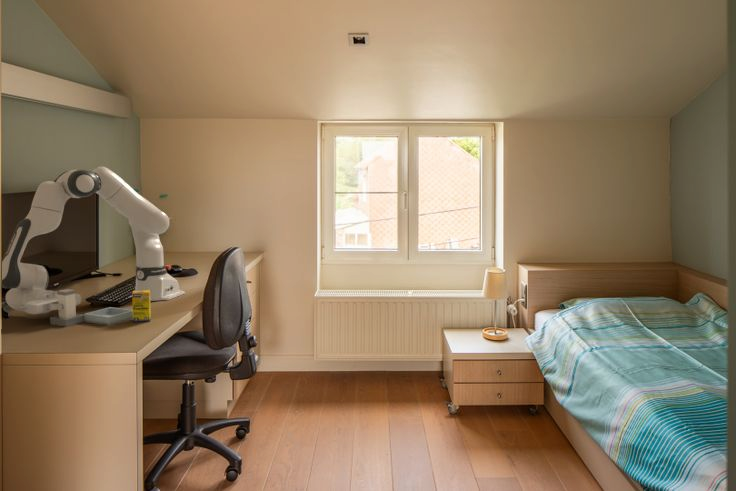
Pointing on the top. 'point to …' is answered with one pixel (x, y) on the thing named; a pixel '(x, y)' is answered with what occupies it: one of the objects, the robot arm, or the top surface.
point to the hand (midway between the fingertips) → (68, 305)
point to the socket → (67, 320)
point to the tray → (108, 316)
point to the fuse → (67, 303)
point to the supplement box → (141, 306)
